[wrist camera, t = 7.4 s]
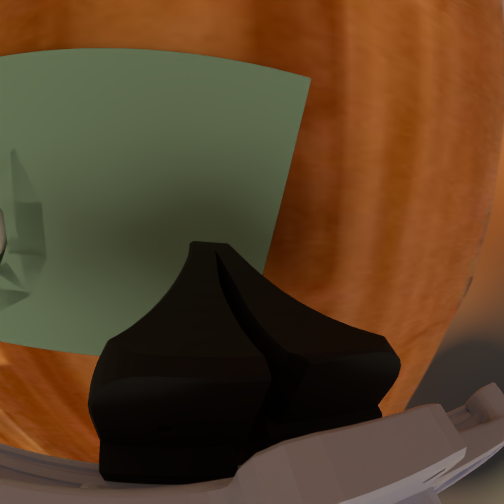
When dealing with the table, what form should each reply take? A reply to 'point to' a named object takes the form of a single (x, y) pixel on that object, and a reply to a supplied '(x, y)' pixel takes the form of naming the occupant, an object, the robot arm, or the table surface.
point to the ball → (2, 233)
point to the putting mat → (130, 181)
